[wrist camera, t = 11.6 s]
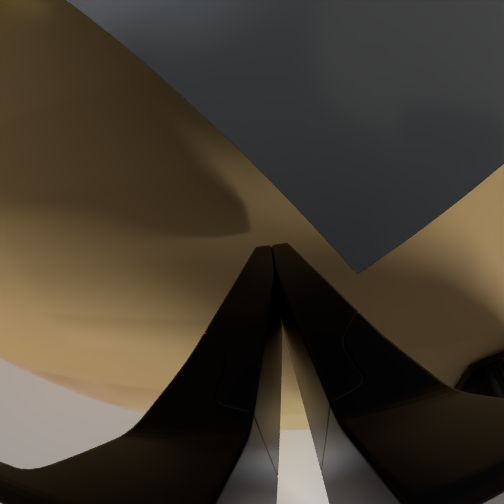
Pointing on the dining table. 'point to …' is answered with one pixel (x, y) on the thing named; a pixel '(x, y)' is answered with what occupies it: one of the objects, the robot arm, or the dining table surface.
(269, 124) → the slate slab
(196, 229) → the dining table surface
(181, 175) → the dining table surface
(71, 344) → the dining table surface
